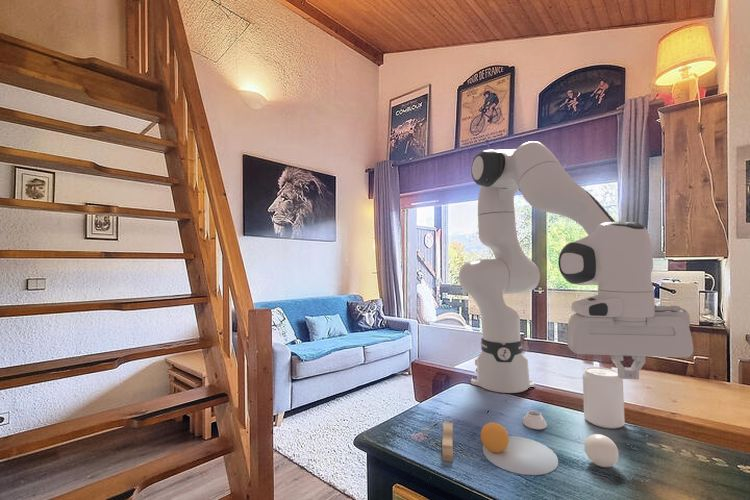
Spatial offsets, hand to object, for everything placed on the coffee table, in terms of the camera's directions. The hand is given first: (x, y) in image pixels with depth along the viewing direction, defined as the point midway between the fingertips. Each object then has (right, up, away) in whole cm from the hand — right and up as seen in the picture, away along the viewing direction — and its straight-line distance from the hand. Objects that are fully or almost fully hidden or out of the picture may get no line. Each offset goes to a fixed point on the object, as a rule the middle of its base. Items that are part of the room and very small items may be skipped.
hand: (628, 378), depth 68 cm
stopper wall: (-33, -17, +7) cm, 38 cm away
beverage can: (+6, -17, +17) cm, 24 cm away
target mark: (-19, -17, +4) cm, 26 cm away
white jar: (-11, -17, +16) cm, 26 cm away
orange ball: (-24, -14, +5) cm, 28 cm away
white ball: (-5, -14, 0) cm, 14 cm away
